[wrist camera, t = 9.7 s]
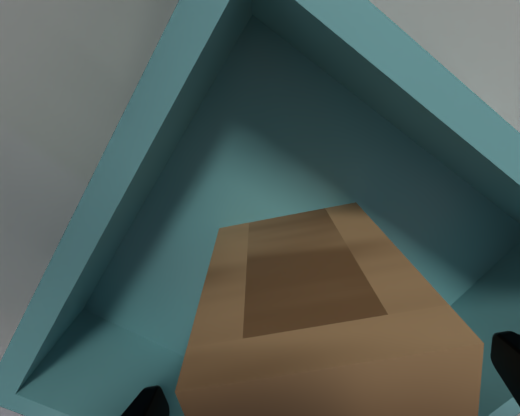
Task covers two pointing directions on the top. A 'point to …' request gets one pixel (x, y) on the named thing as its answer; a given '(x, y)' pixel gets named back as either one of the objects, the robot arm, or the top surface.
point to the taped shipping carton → (324, 326)
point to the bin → (267, 192)
